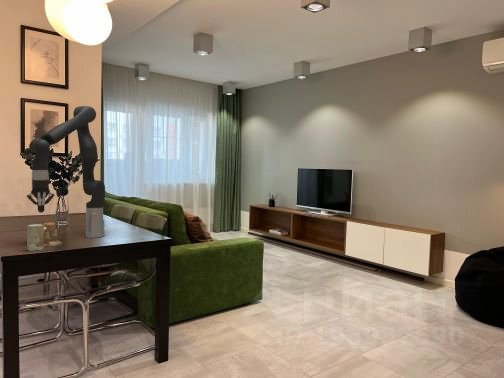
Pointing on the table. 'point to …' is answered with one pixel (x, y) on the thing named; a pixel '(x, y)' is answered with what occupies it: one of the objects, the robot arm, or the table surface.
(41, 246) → the skincare box
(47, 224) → the rust plug
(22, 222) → the table surface
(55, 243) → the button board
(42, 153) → the robot arm
